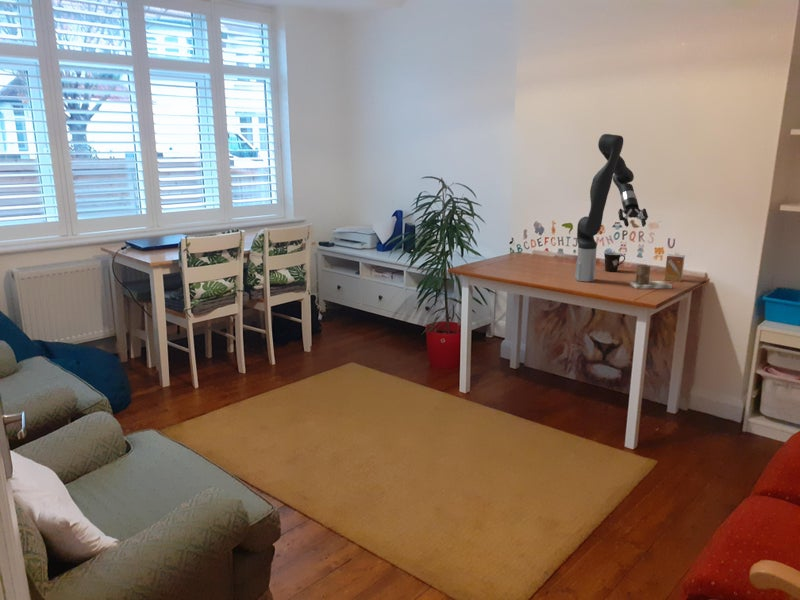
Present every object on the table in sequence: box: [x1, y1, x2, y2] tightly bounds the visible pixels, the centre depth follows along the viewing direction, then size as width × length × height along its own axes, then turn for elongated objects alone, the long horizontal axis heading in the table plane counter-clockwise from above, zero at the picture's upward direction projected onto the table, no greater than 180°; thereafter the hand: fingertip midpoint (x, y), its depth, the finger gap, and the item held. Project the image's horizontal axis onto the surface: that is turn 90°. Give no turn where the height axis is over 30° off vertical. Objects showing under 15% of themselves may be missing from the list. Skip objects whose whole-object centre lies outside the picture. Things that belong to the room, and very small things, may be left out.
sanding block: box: [635, 264, 651, 285], centre depth 312 cm, size 4×5×9 cm
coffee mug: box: [604, 251, 626, 273], centre depth 349 cm, size 12×9×10 cm
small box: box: [663, 254, 686, 283], centre depth 325 cm, size 8×6×13 cm
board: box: [628, 280, 673, 290], centre depth 313 cm, size 18×10×2 cm, turn 91°
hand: (635, 225), depth 320 cm, fingers open, 8 cm apart
